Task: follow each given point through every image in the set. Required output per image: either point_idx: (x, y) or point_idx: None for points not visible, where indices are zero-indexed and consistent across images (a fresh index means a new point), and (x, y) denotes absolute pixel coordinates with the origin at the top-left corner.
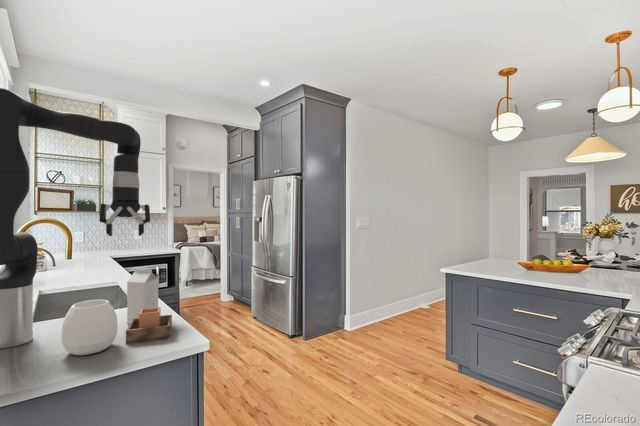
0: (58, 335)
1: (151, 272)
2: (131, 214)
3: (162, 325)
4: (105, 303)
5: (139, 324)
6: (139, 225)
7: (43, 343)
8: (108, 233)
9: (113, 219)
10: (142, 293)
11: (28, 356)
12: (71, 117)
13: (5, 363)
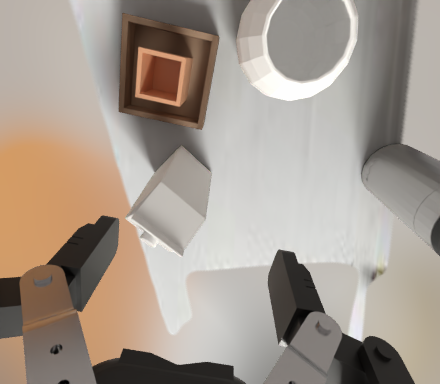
0: (324, 170)
1: (134, 213)
2: (98, 380)
3: (145, 107)
4: (272, 9)
5: (189, 58)
6: (77, 262)
7: (349, 137)
8: (296, 259)
9: (288, 346)
10: (172, 173)
11: (377, 75)
12: None
13: (411, 57)
